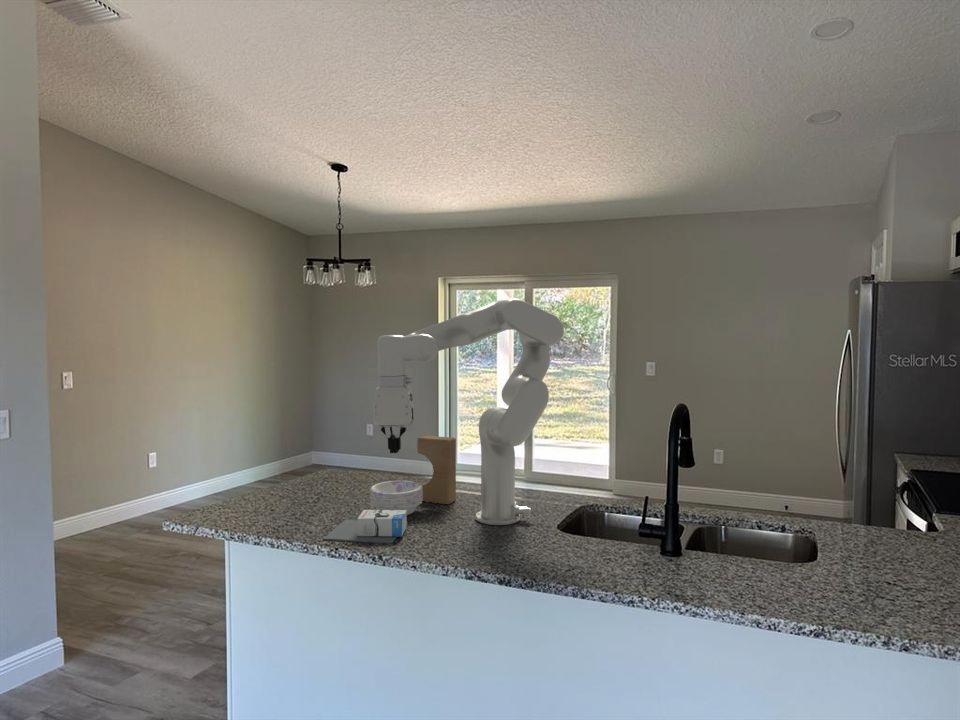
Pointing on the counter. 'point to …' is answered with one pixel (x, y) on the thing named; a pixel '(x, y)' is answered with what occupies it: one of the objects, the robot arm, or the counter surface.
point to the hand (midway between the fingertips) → (394, 452)
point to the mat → (355, 534)
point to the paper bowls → (396, 495)
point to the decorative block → (439, 468)
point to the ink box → (382, 523)
